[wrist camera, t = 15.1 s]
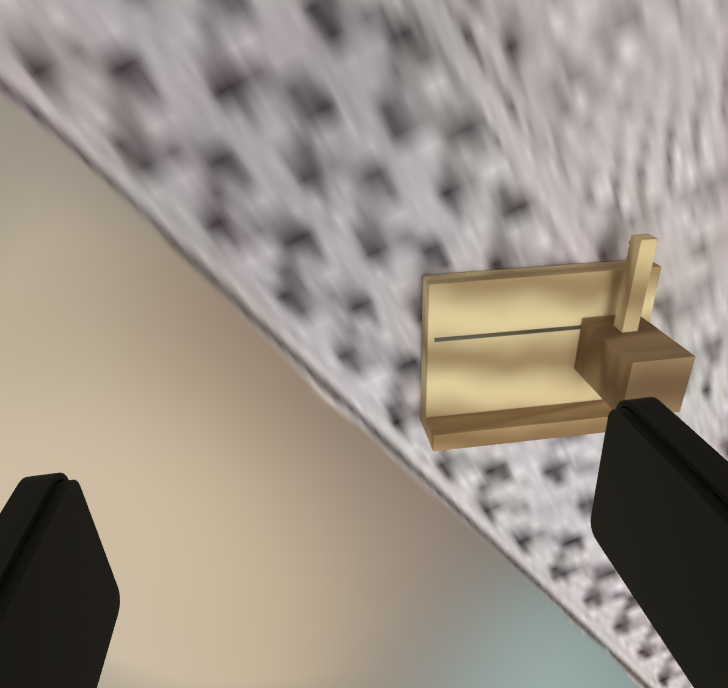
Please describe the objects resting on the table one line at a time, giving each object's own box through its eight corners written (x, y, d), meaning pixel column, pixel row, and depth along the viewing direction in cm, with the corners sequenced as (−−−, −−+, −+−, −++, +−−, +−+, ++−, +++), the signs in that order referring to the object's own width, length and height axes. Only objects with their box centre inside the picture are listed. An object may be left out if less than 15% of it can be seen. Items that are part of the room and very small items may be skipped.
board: (422, 275, 43) (437, 297, 39) (646, 258, 45) (682, 277, 41) (420, 419, 48) (433, 451, 44) (617, 398, 50) (647, 427, 46)
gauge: (597, 229, 40) (655, 262, 34) (656, 225, 41) (723, 257, 35) (574, 368, 46) (620, 418, 40) (626, 363, 46) (679, 411, 40)
